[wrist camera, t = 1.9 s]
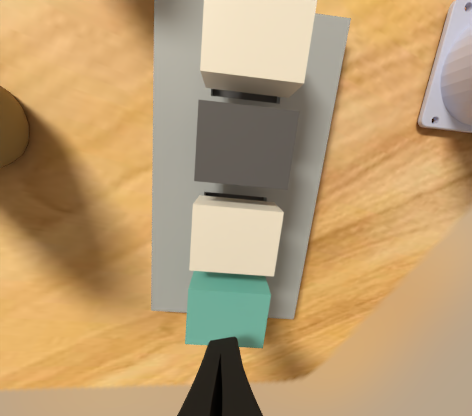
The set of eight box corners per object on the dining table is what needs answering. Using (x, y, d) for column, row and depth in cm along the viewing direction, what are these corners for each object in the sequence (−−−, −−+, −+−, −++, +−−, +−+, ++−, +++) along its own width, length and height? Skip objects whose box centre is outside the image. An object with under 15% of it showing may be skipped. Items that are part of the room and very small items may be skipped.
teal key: (261, 263, 16) (270, 294, 13) (255, 306, 17) (262, 348, 14) (197, 258, 16) (188, 289, 12) (194, 302, 17) (185, 344, 13)
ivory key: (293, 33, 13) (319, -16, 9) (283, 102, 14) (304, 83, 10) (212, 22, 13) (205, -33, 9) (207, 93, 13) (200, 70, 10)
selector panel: (339, 31, 15) (350, 18, 13) (289, 307, 20) (293, 319, 19) (161, 6, 14) (154, -10, 13) (156, 299, 19) (151, 310, 18)
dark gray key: (281, 122, 14) (299, 111, 10) (272, 181, 15) (287, 189, 11) (206, 114, 14) (198, 99, 10) (202, 174, 15) (194, 181, 11)
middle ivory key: (270, 198, 15) (283, 212, 11) (263, 248, 16) (274, 276, 12) (201, 192, 15) (192, 204, 11) (198, 243, 16) (189, 270, 12)
